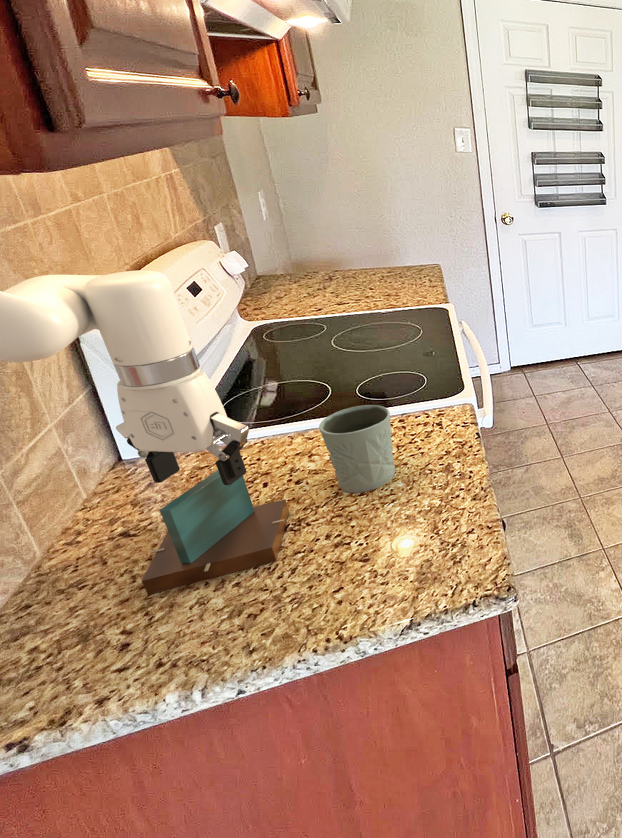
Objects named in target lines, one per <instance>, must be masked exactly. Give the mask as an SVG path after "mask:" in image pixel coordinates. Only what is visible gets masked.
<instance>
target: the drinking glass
mask: <svg viewBox="0 0 622 838" xmlns="http://www.w3.org/2000/svg"><path fill="white" fill-rule="evenodd" d="M318 429H319V431H320V434H321V437H322V439H323V442H324V445H325V448H326V450H327V451H328V452H329V459H330V461H331V462H330V463H331V465H332V468H333V469H334V473H335V478H336V479H337V482H338V486H339V488H340V489H341V490H342V491H344V492H346V493H350V494H360V493H361V494H362V493H366V492H370V491H374V490H376V489H378V488H381V487H383V486H384V485H386V484H387V483H389V482H390V481H391V480H392V479H393V478H394V476H395V473H396V467H395V459H394V454H393V451H394V446H393V439H392V427H391V412H390V410H389V409H388V408H387V407H385V406H382V405H377V404H365V405H359V406H358V405H356V406H352V407H348V408H343V409H341V410H339V411H336V412H334V413H332V414H330V415H328V416H326V417H325V418H324V419H323V420H321V421H320V423H319V426H318Z"/></svg>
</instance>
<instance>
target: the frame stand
mask: <svg viewBox="0 0 622 838" xmlns="http://www.w3.org/2000/svg"><path fill="white" fill-rule="evenodd" d="M253 508H254V512H253V513H252V514H251V515H250V516H248V517H247V518H246V519H245V520H244V521H242V522H241V523H240V524H239V525H237V526H236V527H235V528H234V529H233V530H231V531H230V532H229V533H228V534H226V535H225V536H224V537H223V538H222V539H220V540H219V541H218V542H217V543H215V544H214V545H213V546H212V547H211V548H209V549H208V550H207V551H206V552H205V553H203V554H202V555H201V556H200V557H198V558H197V559H196V560H195V561H194V562H192V563H191V564H185V563H181V562H180V559H179V557H178V554H177V552H176V549H175V547H174V545H173V542H172V540H171V537H170V535H169V532H168V531H167V532H166V534H165V536H164V538H163V540H162V541H161V544H160V545H159V547H158V549H153V550H151V551H150V554H154V553H155V554H154V557H153V558H152V560H151V562H150V564H149V565H148V568H147V570H146V572H145V574H144V575H143V577H142V578H141V583H142V585H143V587H144V590H145V592H146V594H147V596H150V595H154V594H158V593H161V592H165V591H169V590H173V589H177V588H180V587H184V586H188V585H191V584H194V583H199V582H202V581H203V582H204V581H206V580H210V579H213V578H219V577H221V576H225V575H229V574H232V573H237V572H240V571H244V570H248V569H252V568H255V567H259V566H262V565H266V564H270V563H274V562H277V561H278V557H279V552H280V549H281V545H282V541H283V537H284V533H285V530H286V525H287V522H288V518H289V514H290V510H289V506H288V503H287V500H286V499H281V500H276V501H272V502H268V503H263V504H259V505H255V506H254V505H253Z"/></svg>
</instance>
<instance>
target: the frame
mask: <svg viewBox="0 0 622 838" xmlns="http://www.w3.org/2000/svg"><path fill="white" fill-rule="evenodd" d="M245 481H246V480H245V478H244V475H243V476H242V477H240V478H239V479H238V480H236V481H235V482H234V483H232V484H231V485H224V484H223V482H222V479H221V477H220V474H219V471H218V469H216V471H214V472H213V473H211V474H210V475H208V476H207V477H206V478H204V479H202V480H201V481H200V482H198V483H196V484H195V485H194V486H192V487H191V488H189V489H188V490H186V491H185V492H184V493H182V494H180V495H179V496H178V497H176V498H175V499H173V500H172V501H169V502H168V504H166V505H165V506H163V507H161V508H160V509H159V512H160V515H161V518H162V520H163V523H164V525H165V527H166V530H167V532H169V535H170V537H171V540H172V542H173V545H174V547H175V549H176V552H177V554H178V557H179V559H180V562H181V563H185V564H191V563H192V562H194V561H195V560H196V559H197V558H198V557H200V556H201V555H202V554H203V553H205V552H206V551H207V550H208V549H209V548H211V547H212V546H213V545H214V544H215V543H217V542H218V541H219V540H220V539H222V538H223V537H224V536H225V535H226V534H228V533H229V532H230V531H231V530H233V529H234V528H235V527H236V526H237V525H239V524H240V523H241V522H242V521H244V520H245V519H246V518H247V517H248V516H250V515H251V514H252V513H253V512H254V508H253V507H254V505H253V502H252V498H251V496H250V493H249V489H248V487H247V484H246V482H245Z"/></svg>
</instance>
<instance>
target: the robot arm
mask: <svg viewBox="0 0 622 838" xmlns="http://www.w3.org/2000/svg"><path fill="white" fill-rule="evenodd" d="M184 319H185V318H184V317H183V314H182V311H181V308H180V305H179V302H178V300H177V297H176V294H175V292H174V288H173V285H172V283H171V281H170V279H169V278H168V277H167V276H166V274H163V273H161V272H159V271H156V270H148V269H141V270H139V269H137V270H126V271H119V272H118V271H117V272H111V273H107V274H45V275H39V276H34V277H31V278H27V279H25V280H23V281H21V282H19V283H17V284H15V285H13V286H11V287H9V288H7V289H5V290H3V291H1V290H0V362H1V361H2V362H10V363H27V362H34V361H35V362H36V361H40V360H43V359H48V358H50V357H52V356H54V355H57V354H58V353H59V352H61V351H63V350H64V349H65V348H67V347H68V346H70V345H71V344H72V343H73V342H74V341H75V340H77V338H79V337H81V336H83V335H85V334H87V333H90V332H92V331H93V330H98V331H99V334H100V336H101V338H102V341H103V343H104V345H105V348H106V350H107V353H108V355H109V357H110V360H111V363H112V364H113V367H114V369H115V371H116V374H117V376H118V378H119V381H118V382H117V384H116V389H117V399H118V404H119V409H120V413H121V416H122V419H123V422H121V423H120V424H118V425H116V426H115V429H116V431H117V432H118V433H120V435H121V436H122V437H123V438H124V439H125V440H126V443H127V445H129V446H131V448H133V449H135V450H136V451H137V456H138V457H139V458H142V459H144V461H145V464H146V466H147V468H148V471H149V473H150V475H151V477H152V480H153V482H154V483H155V484H156V483H157V484H161V483H163V482H164V481H165V480H167V479H169V478H170V477H173V476H174V475H175V474H177V473H178V472H180V470H181V468H180V465H179V463H178V460H177V458H176V455H175V453H187V454H188V453H191V454H193V453H194V454H195V453H202V452H204V451H208V452H209V453H210V454H211V455H213V456H214V457H216V458H217V460H216V461H215V465H216V468H217V470H218V471H219V474H220V477H221V479H222V482H223V484H224V485H231V484H232V483H234V482H235V481H236V480H238V479H239V478H240V477H242V476H243V477H244V476H245V475H246V473H247V469H246V466H245V463H244V460H243V458H242V454H241V451H242V450H243V449H244V446H245V445H246V444H247V443H248V436H249V432H250V428H249V426H248V425H246V424H244V423H241V422H239V421H237V420H234V419H232V418H230V417H228V415H227V413H226V410H225V408H224V405H223V403H222V401H221V398H220V397H219V394H218V393H217V391H216V388H215V387H214V385H213V383H212V381H211V379H210V378H209V377H208V375H207V374H206V372H205V371H204V370H202V367H201V364H200V362H199V359H198V356H197V353H196V351H195V347H194V344H193V343H192V340H191V337H190V334H189V330H188V328H187V325H186V322H185V320H184ZM219 442H222V443H223V444H225V445H226V446H225V447H224V448H222V447H221V446H220V445H218V443H219Z"/></svg>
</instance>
